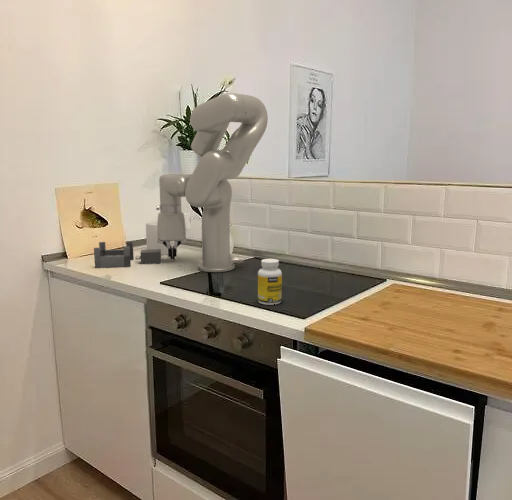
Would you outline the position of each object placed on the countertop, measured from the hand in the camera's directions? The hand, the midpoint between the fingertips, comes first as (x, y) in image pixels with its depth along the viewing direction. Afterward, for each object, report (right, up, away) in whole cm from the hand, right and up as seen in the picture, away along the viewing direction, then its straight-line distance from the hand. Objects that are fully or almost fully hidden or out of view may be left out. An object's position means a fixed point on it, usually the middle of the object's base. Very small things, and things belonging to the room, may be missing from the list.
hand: (172, 258), depth 186 cm
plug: (-8, -2, -1) cm, 8 cm away
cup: (-7, +2, +17) cm, 19 cm away
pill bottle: (+35, -11, -49) cm, 61 cm away
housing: (-20, -2, -3) cm, 21 cm away
